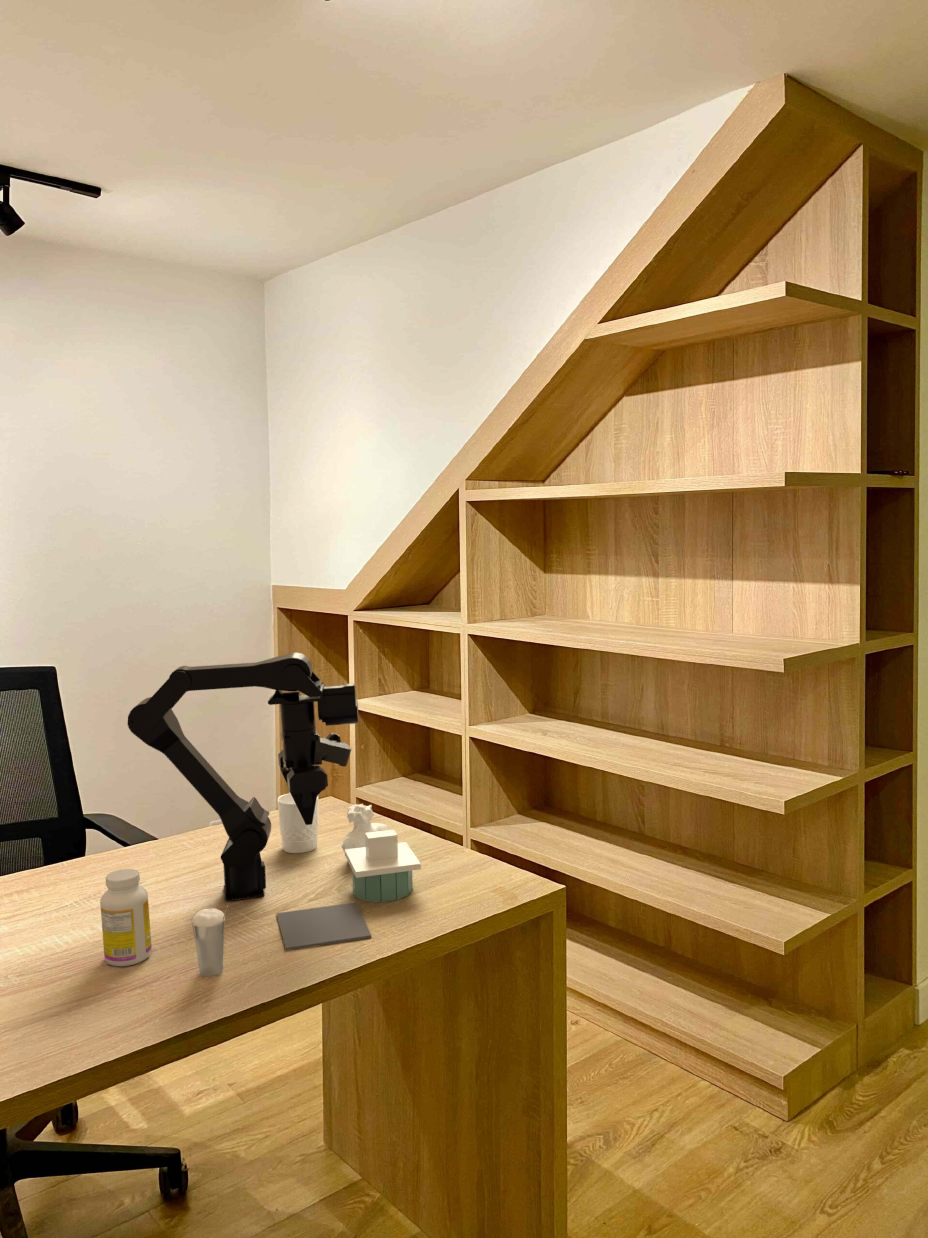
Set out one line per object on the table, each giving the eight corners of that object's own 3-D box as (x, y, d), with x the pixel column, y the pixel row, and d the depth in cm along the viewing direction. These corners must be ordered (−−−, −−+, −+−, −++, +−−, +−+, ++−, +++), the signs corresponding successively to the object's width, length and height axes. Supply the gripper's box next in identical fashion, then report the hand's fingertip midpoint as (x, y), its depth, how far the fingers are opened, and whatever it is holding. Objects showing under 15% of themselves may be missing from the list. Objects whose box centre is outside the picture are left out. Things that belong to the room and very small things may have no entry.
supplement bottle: (136, 943, 145) (131, 862, 143) (160, 955, 141) (155, 872, 139) (95, 960, 140) (89, 876, 138) (119, 973, 136) (114, 887, 134)
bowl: (359, 905, 157) (358, 876, 157) (349, 883, 167) (348, 855, 166) (417, 897, 160) (417, 868, 160) (404, 875, 170) (403, 848, 169)
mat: (285, 950, 141) (285, 948, 141) (276, 915, 154) (276, 913, 154) (371, 937, 145) (371, 935, 145) (356, 904, 158) (355, 902, 158)
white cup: (328, 844, 186) (326, 795, 185) (301, 857, 180) (299, 806, 178) (298, 838, 190) (296, 789, 189) (270, 850, 184) (268, 800, 183)
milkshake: (224, 982, 132) (220, 913, 131) (189, 979, 133) (185, 911, 132) (238, 966, 137) (235, 900, 136) (204, 963, 138) (200, 897, 137)
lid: (356, 878, 156) (355, 848, 155) (344, 855, 166) (343, 827, 166) (420, 869, 159) (420, 840, 159) (405, 847, 170) (405, 820, 169)
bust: (387, 859, 184) (360, 808, 187) (409, 843, 179) (381, 791, 183) (342, 879, 174) (314, 825, 178) (365, 862, 170) (336, 807, 173)
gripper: (355, 733, 155) (361, 826, 156) (336, 711, 172) (342, 795, 174) (286, 742, 151) (293, 836, 153) (274, 718, 169) (281, 803, 171)
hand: (305, 816), depth 163 cm, fingers open, 9 cm apart
